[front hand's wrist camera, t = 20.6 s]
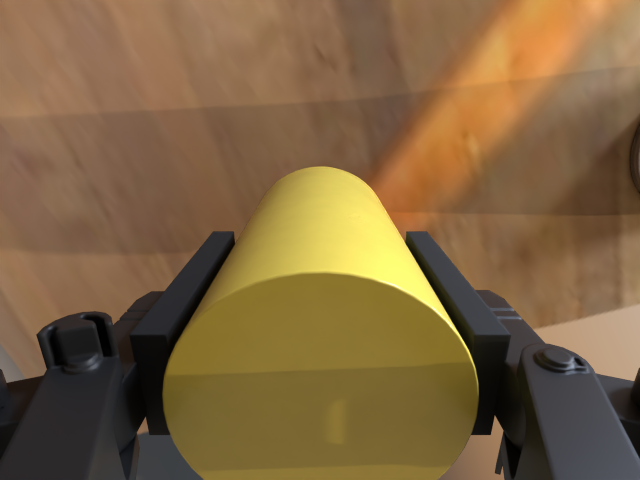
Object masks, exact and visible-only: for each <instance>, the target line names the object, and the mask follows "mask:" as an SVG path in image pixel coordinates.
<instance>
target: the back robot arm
mask: <svg viewBox="0 0 640 480" xmlns="http://www.w3.org/2000/svg"><path fill="white" fill-rule="evenodd" d="M630 162H631V173H632V177H633V181H634V183H635V186H636V188H637V189H638V191H639V192H640V125H639V128H638V130H637V132H636V135H635V138H634V141H633V145H632V150H631V160H630Z"/></svg>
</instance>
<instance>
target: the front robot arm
mask: <svg viewBox="0 0 640 480" xmlns="http://www.w3.org/2000/svg"><path fill="white" fill-rule="evenodd" d="M405 244H406V246H407V247H408V249H409V251H410V252H411V254H412V256H413V257H414V259H415V261H416V262H417V264H418V266H419V267H420V269H421V271H422V272H423V274H424V276H425V277H426V279H427V281H428V282H429V284H430V286H431V287H432V289H433V291H434V292H435V294H436V296H437V298H438V299H439V301H440V303H441V304H442V306H443V308H444V309H445V311H446V313H447V314H448V316H449V318H450V319H451V321H452V323H453V324H454V326H455V328H456V329H457V331H458V333H459V334H460V336H461V338H462V340H463V341H464V343H465V345H466V346H467V348H468V350H469V352H470V355H471V357H472V360H473V363H474V365H475V369H476V374H477V379H478V388H479V403H478V411H477V417H476V421H475V424H474V427H473V431H472V433H471V435H491V431H492V426H493V421H494V416H496V418H497V420H498V421H499V423H500V425H501V427H502V428H503V430H504V431H503V436H502V441H501V445H500V450H499V454H498V459H497V463H496V469H495V473H496V474H501V469H502V466H503V471H504V479H505V480H640V368H639V370H638V373H637V376H636V378H635V381H630V380H625V379H620V378H615V377H609V376H604V375H600V374H596V373H595V372H594V370H593V368H592V367H591V366H590V364H589V363H588V362H587V361H586V360H585V359H583V358H582V357H580V356H579V355H577V354H576V353H574V352H572V351H569V350H567V349H565V348H563V347H559V346H555V345H551V344H545V342H544V341H543V340H542V339H541V338H540V337H539V336H538V335H537V334H536V333H535V332H534V331H533V330H532V329H531V327H530V326H529V325H528V324H527V323H526V322H525V321H524V320H523V319H521V317H520V316H519V315H518V313H517V312H516V311H513V308H512V307H511V306H510V305H509V304H508V303H507V302H506V301H505V299H503V298H502V297H500V296H498V295H496V294H495V293H493V292H491V291H489V290H474V289H473V287H472V286H471V285H470V284H469V282H468V281H467V280H466V279H465V278H464V276H463V275H462V274H461V273H460V271H459V270H458V269H457V268H456V267H455V265H454V264H453V263H452V262H451V260H450V259H449V258H448V257H447V256H446V254H445V253H444V252H443V251H442V249H441V248H440V247H439V246H438V245H437V243H436V242H435V241H434V240H433V238H432V237H431V236H430V235H429V234H428V232H406V242H405ZM234 245H235V239H234V232H213V233H212V234H211V235H210V236H209V238H208V239H207V240H206V241H205V242H204V244H203V245H202V246H201V247H200V249H199V250H198V251H197V252H196V253H195V255H194V256H193V257H192V258H191V260H190V261H189V262H188V263H187V264H186V266H185V267H184V268H183V269H182V271H181V272H180V273H179V274H178V275H177V277H176V278H175V279H174V280H173V282H172V283H171V284H170V285H169V286H168V288H167V289H166V290H165V291H151V292H150V293H148V294H146V295H145V296H143V297H141V298H139V299H138V300H136V301H135V302H134V303H133V305H132V306H131V307H130V308H129V309H128V310H127V312H125V313H124V314H123V315H122V316H121V318H120V320H119V321H117V322H116V323H115V324H114V325H113V323H112V319H111V317H110V316H109V315H108V314H106V313H102V312H96V311H94V312H82V313H77V314H73V315H69V316H66V317H63V318H61V319H58V320H55V321H54V322H52V323H50V324H49V325H47V326H45V327H44V328H43V329H42V330H41V331H40V332H39V333H38V334H37V338H38V342H39V345H40V348H41V351H42V355H43V358H44V361H45V364H46V368H47V370H46V372H45V374H44V375H43V376H39V377H34V378H29V379H24V380H19V381H14V382H9V383H6V380H5V377H4V374H3V372H2V370H1V369H0V480H136V472H137V465H138V457H139V449H140V447H139V441H138V436H137V431H138V429H139V427H140V426H141V424H142V422H143V420H144V418H145V417H146V420H147V425H148V429H149V434H150V435H171V434H170V432H169V429H168V427H167V423H166V419H165V415H164V411H163V396H162V391H163V381H164V374H165V371H166V367H167V363H168V360H169V358H170V355H171V353H172V351H173V349H174V347H175V345H176V343H177V341H178V339H179V338H180V336H181V334H182V333H183V331H184V329H185V328H186V326H187V324H188V323H189V321H190V319H191V317H192V316H193V314H194V312H195V311H196V309H197V307H198V306H199V304H200V302H201V301H202V299H203V297H204V296H205V294H206V292H207V291H208V289H209V287H210V286H211V284H212V282H213V280H214V279H215V277H216V275H217V274H218V272H219V270H220V269H221V267H222V265H223V264H224V262H225V260H226V259H227V257H228V255H229V254H230V252H231V250H232V249H233V247H234Z"/></svg>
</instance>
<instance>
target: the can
mask: <svg viewBox="0 0 640 480" xmlns="http://www.w3.org/2000/svg"><path fill="white" fill-rule="evenodd" d="M162 396H163V411H164V415H165V419H166V423H167V427H168V429H169V432H170V434H171V437H172V439H173V442H174V443H175V445H176V447H177V448H178V450H179V452H180V453H181V455H182V456H183V458H184V459H185V460H186V461H187V463H188V464H189V465H190V466H191V468H192V469H193V470H194V471H195V472H196V473H197V474H199V475H200V476H201V477H202V478H203V479H204V480H437V479H438V478H440V477H441V476H442V475H443V474H444V473H445V472H446V471H447V470H448V469H449V468H450V466H451V465H452V464H453V463H454V462H455V461H456V459H457V458H458V457H459V455H460V454H461V452H462V451H463V449H464V448H465V446H466V444H467V442H468V440H469V437H470V435H471V433H472V431H473V427H474V424H475V421H476V417H477V411H478V403H479V388H478V379H477V374H476V369H475V365H474V363H473V360H472V357H471V355H470V352H469V350H468V348H467V346H466V345H465V343H464V341H463V340H462V338H461V336H460V334H459V333H458V331H457V329H456V328H455V326H454V324H453V323H452V321H451V319H450V318H449V316H448V314H447V313H446V311H445V309H444V308H443V306H442V304H441V303H440V301H439V299H438V298H437V296H436V294H435V292H434V291H433V289H432V287H431V286H430V284H429V282H428V281H427V279H426V277H425V276H424V274H423V272H422V271H421V269H420V267H419V266H418V264H417V262H416V261H415V259H414V257H413V256H412V254H411V252H410V251H409V249H408V247H407V246H406V244H405V242H404V240H403V239H402V237H401V235H400V234H399V232H398V230H397V229H396V227H395V225H394V224H393V222H392V220H391V219H390V217H389V215H388V214H387V212H386V210H385V209H384V207H383V205H382V204H381V202H380V200H379V199H378V197H377V195H376V194H375V193H374V191H373V190H372V189H371V188H370V187H369V186H368V185H367V184H366V183H365V182H364V181H362V180H361V179H359V178H358V177H356V176H355V175H353V174H351V173H349V172H346V171H343V170H341V169H336V168H332V167H310V168H304V169H301V170H297V171H295V172H292V173H290V174H288V175H286V176H285V177H283V178H281V179H280V180H279V181H277V182H276V183H275V184H274V185H273V186H272V187H271V188H270V189H269V190H268V191H267V192H266V194H265V195H264V197H263V198H262V200H261V201H260V203H259V205H258V206H257V208H256V210H255V212H254V213H253V215H252V217H251V218H250V220H249V222H248V223H247V225H246V227H245V228H244V230H243V232H242V233H241V235H240V237H239V238H238V240H237V242H236V243H235V245H234V247H233V249H232V250H231V252H230V254H229V255H228V257H227V259H226V260H225V262H224V264H223V265H222V267H221V269H220V270H219V272H218V274H217V275H216V277H215V279H214V280H213V282H212V284H211V286H210V287H209V289H208V291H207V292H206V294H205V296H204V297H203V299H202V301H201V302H200V304H199V306H198V307H197V309H196V311H195V312H194V314H193V316H192V317H191V319H190V321H189V323H188V324H187V326H186V328H185V329H184V331H183V333H182V334H181V336H180V338H179V339H178V341H177V343H176V345H175V347H174V349H173V351H172V353H171V355H170V358H169V360H168V363H167V367H166V371H165V374H164V381H163V391H162Z"/></svg>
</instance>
